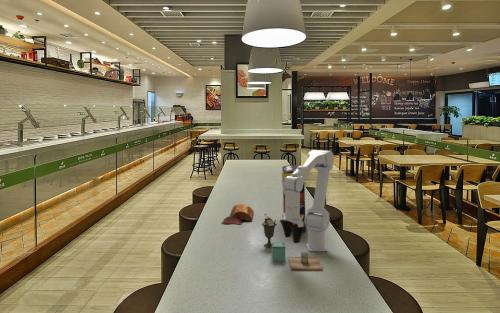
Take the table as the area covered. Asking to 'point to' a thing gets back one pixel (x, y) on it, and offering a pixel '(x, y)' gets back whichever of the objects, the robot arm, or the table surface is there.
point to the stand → (304, 263)
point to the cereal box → (287, 172)
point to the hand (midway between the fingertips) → (292, 239)
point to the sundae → (269, 230)
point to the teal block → (278, 252)
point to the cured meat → (239, 214)
